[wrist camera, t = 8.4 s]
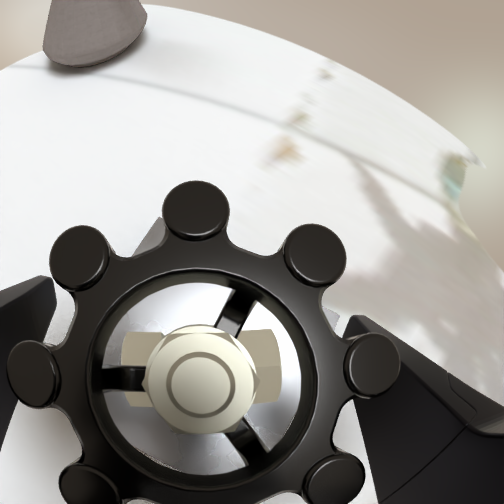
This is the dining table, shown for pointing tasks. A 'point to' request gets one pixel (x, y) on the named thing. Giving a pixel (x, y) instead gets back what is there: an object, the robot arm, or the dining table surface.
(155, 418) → the steel seat plate
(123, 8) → the coffee pot
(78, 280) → the valve
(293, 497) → the dining table surface
